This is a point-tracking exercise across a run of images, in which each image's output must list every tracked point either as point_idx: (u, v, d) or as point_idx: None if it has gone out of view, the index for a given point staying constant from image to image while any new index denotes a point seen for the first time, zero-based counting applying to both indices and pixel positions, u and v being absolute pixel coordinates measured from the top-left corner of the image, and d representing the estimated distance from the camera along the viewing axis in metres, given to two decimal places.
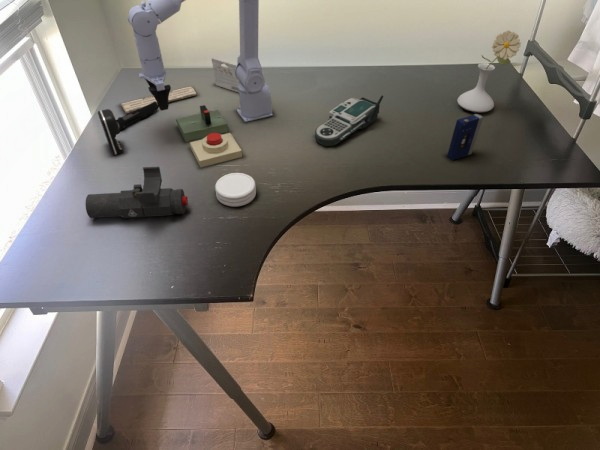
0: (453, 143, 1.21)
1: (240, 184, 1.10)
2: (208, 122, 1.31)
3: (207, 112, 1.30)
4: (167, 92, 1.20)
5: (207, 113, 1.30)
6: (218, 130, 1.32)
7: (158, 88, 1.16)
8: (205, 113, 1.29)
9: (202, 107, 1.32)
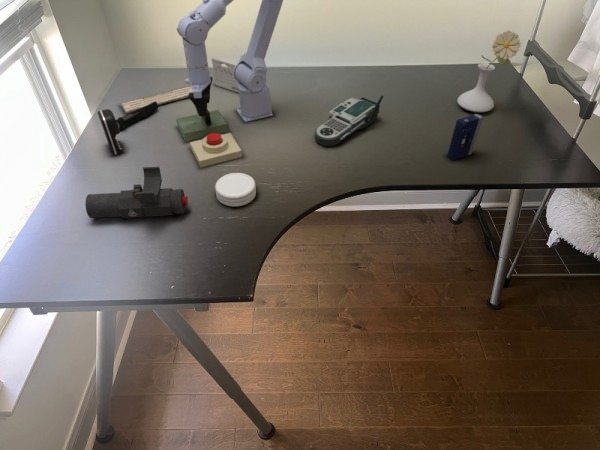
0: (453, 143, 1.21)
1: (240, 184, 1.10)
2: (208, 122, 1.31)
3: (207, 112, 1.30)
4: (205, 100, 1.23)
5: (207, 113, 1.30)
6: (218, 130, 1.32)
7: (195, 95, 1.20)
8: None
9: None
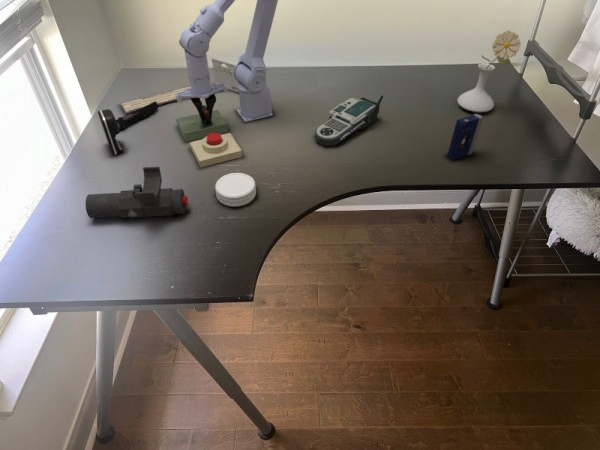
0: (453, 143, 1.21)
1: (240, 184, 1.10)
2: (208, 122, 1.31)
3: (207, 112, 1.30)
4: None
5: (207, 113, 1.30)
6: (218, 130, 1.32)
7: None
8: (205, 113, 1.29)
9: (202, 107, 1.32)
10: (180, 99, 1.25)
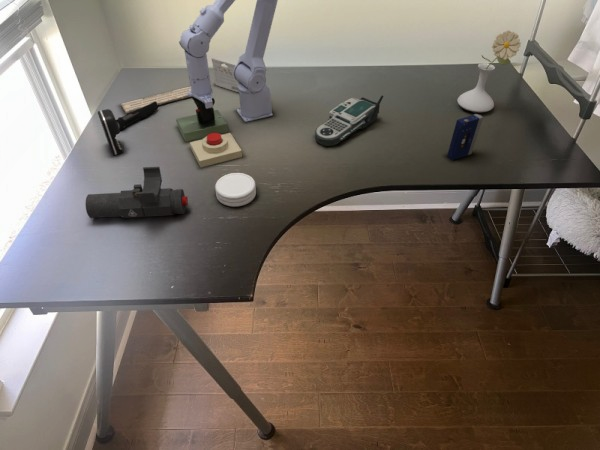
0: (453, 143, 1.21)
1: (240, 184, 1.10)
2: None
3: (197, 111, 1.30)
4: None
5: (196, 111, 1.30)
6: (218, 130, 1.32)
7: (207, 106, 1.23)
8: (196, 110, 1.31)
9: None
10: None
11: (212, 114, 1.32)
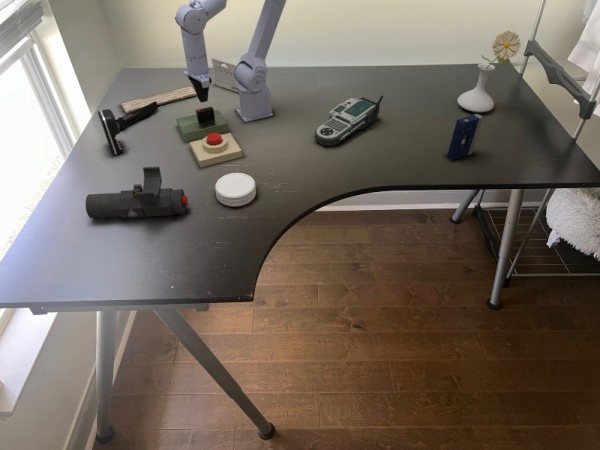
0: (453, 143, 1.21)
1: (240, 184, 1.10)
2: None
3: (197, 111, 1.30)
4: None
5: (196, 111, 1.30)
6: (218, 130, 1.32)
7: (204, 85, 1.19)
8: (196, 110, 1.31)
9: (208, 108, 1.32)
10: None
11: (212, 114, 1.32)
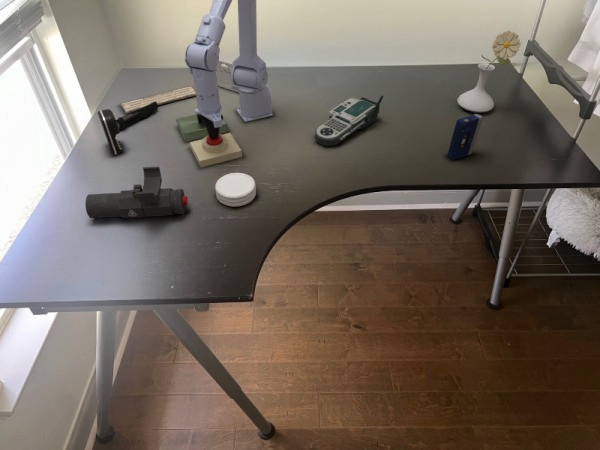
0: (453, 143, 1.21)
1: (240, 184, 1.10)
2: None
3: None
4: None
5: None
6: None
7: (216, 125, 1.12)
8: None
9: None
10: None
11: None
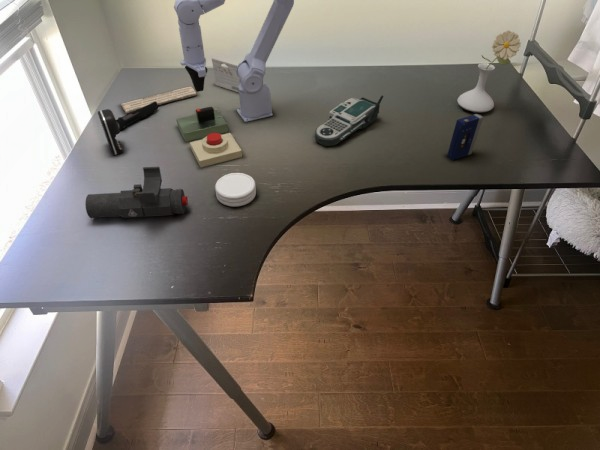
0: (453, 143, 1.21)
1: (240, 184, 1.10)
2: None
3: (197, 111, 1.30)
4: None
5: (196, 111, 1.30)
6: (218, 130, 1.32)
7: (200, 74, 1.21)
8: (196, 110, 1.31)
9: (208, 108, 1.32)
10: None
11: (212, 114, 1.32)
